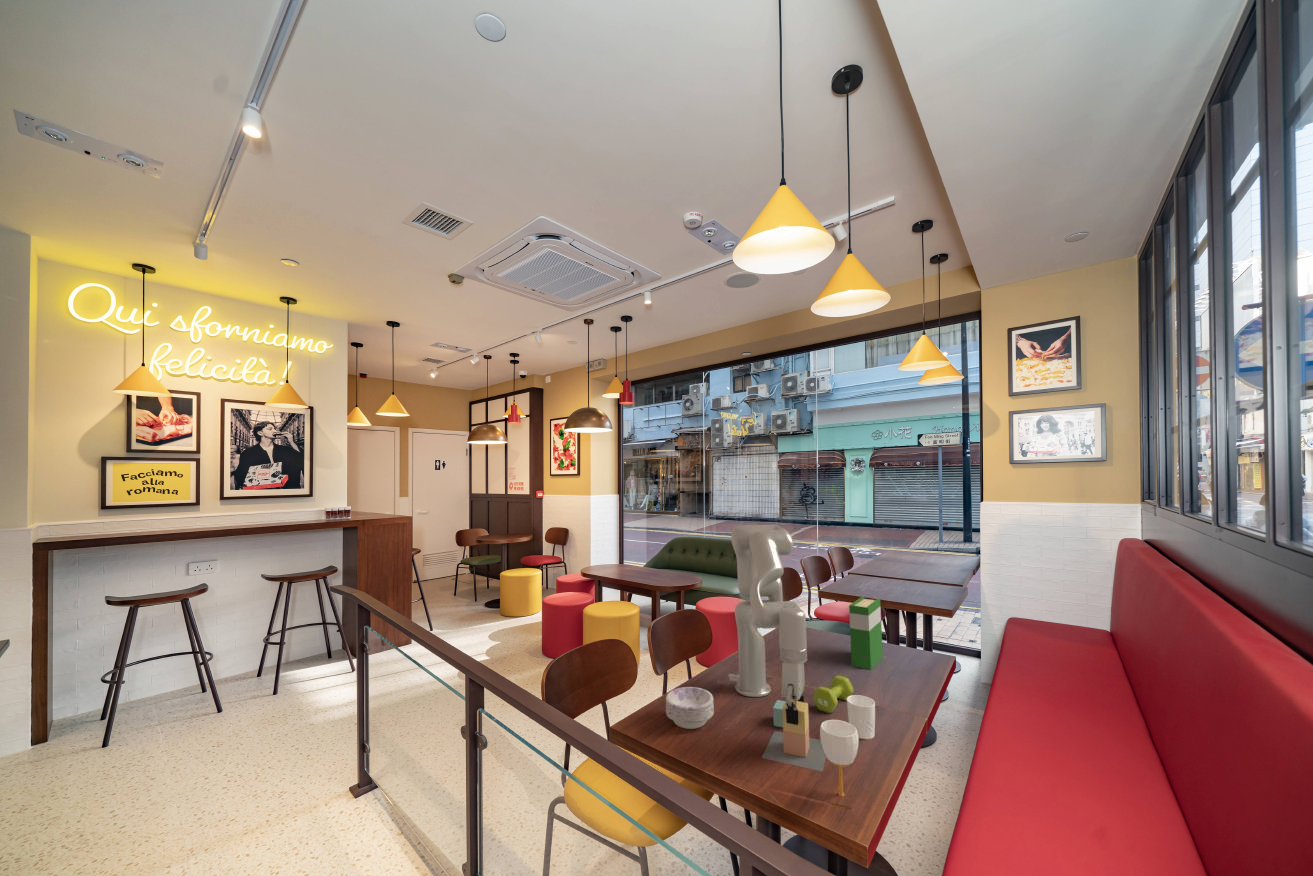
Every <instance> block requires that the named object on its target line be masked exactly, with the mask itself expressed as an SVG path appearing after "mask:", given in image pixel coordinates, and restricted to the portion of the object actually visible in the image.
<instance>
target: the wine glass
mask: <svg viewBox="0 0 1313 876" xmlns="http://www.w3.org/2000/svg"><path fill="white" fill-rule="evenodd" d="M819 727H820V730H819V737H820V739H819V740H821V743H822V747H823V750H824V753H825V755H826V760H829V762H831V764H832V765H833V766H835V767H838V788H839V792H838V796H840V797H844V796H845V793H844V784H843V783H844V782H843V768H847V767H848V766H850V765H851V764H853V763H854V761H855V758H856V757H857V754H858V749H859V739H860V738H858V733H857V730H856V728H855V727H854V726H853V725H852V724H850V723H849V721H848V722H847V721H844V720H840V719H829V720H825V721H823V722H821V724H820V726H819ZM828 804H830V805H832V806H834V807H837V808H840V809H847V810H848V809H849V810H850V809H852V807H849V806H845V805H840V804H837V803H834V802H829V801H828Z"/></svg>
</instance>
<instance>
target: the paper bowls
mask: <svg viewBox="0 0 1313 876" xmlns="http://www.w3.org/2000/svg"><path fill="white" fill-rule="evenodd" d="M665 712H666V713H665V714H666V716H667V718H668V719H669V720H672V721H673V722H674V724H675V725H676V726H677V727H680V728H682V729H686V730H691V729H692V730H693V729H699V728H701V727H703V726H704V725H705V724H706V723H707V721H709V720H710V719H712V718H713V715H714V714H715V707H714V696H713V694H712V693H711V692H710V691H709V690H706V689H704V688H701V687H696V686H694V687H693V686H683V687H678V688H675V689H672V690H670V691H669V692H668V693H667V694H666V697H665Z"/></svg>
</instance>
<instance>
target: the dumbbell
mask: <svg viewBox="0 0 1313 876" xmlns="http://www.w3.org/2000/svg"><path fill="white" fill-rule="evenodd" d="M829 686H830V688H828V687H825V686H819V687H817V689H816V690H815V692H814V693H813V696H812V697H813V701H814V703H815V705H816V707H817V709H818V710H819V711H822V712H824V713H828V714H831V713H832V712H834V710H835V709H836V707H837V706H838V703H839V701H838V699H839V700H842V701H847V697H849V696H851V695H853V693H854V691H855V690H854V687H853V685H852V682H851V680H849V678H848V677H847V676H841V675H835V676H834V677H833V678H832V680H831V682H830V683H829Z"/></svg>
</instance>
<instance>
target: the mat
mask: <svg viewBox="0 0 1313 876" xmlns="http://www.w3.org/2000/svg"><path fill="white" fill-rule="evenodd" d="M809 746H810V747H809V750H808V753H807V756H806V757H801V756H797V755H792V754H788V753H784V743H783V731H777V730H774V732H773V733H772V735H771V738H770V740H769V742H768V744H767V746H766V748H765V750H764V752H763V754H762V756H761V759H765V760H769V761H772V762H773V761H774V762H778V763H783V764H786V765H790V766H796V767H800V768H802V769H807V770H812V771H817V772H821V773H822V772H823V771H824V767H825V764H826V761H827V757H826V755H825V753H824V750H823V747H822V743H821V739H817V738H812V737H809Z"/></svg>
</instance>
